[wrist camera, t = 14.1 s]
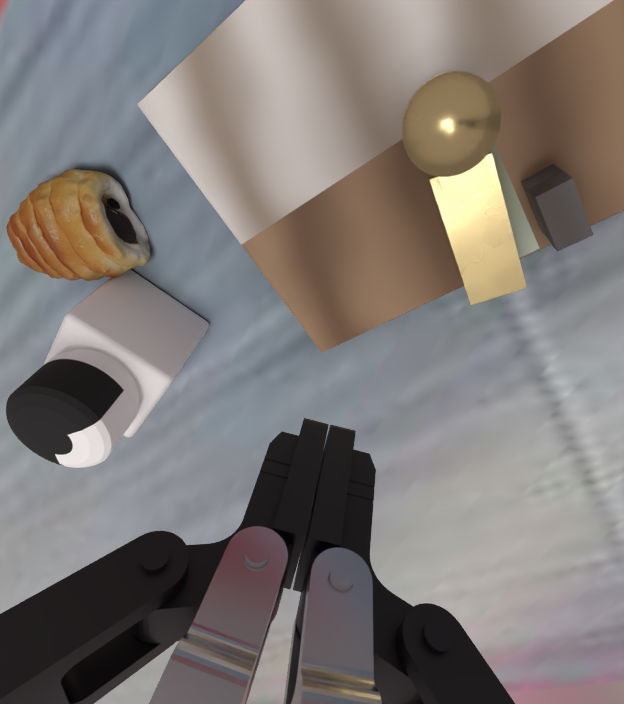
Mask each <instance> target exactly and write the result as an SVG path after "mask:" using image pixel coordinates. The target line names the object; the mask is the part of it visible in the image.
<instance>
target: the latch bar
mask: <svg viewBox="0 0 624 704" xmlns="http://www.w3.org/2000/svg"><path fill="white" fill-rule="evenodd" d="M500 123H501V110H500V104H499V101H498V98H497V96H496V94H495V92H494V90H493V89H492V87H491V86H490V85H489V84H488V83H487V82H486V81H485V80H483V79H482V78H481V77H479V76H477V75H475V74H472V73H469V72H465V71H447V72H443V73H440V74H438V75H435V76H433V77H432V78H430V79H428V80H427V81H426V82H424V83H423V84H422V85H421V86H420V87H419V88H418V89H417V90H416V92H415V93H414V94H413V96H412V97H411V99H410V100H409V102H408V104H407V107H406V109H405V112H404V116H403V122H402V137H403V144H404V147H405V150H406V152H407V155H408V156H409V158H410V160H411V161H412V162H413V163H414V164H415V165H416V166H417V167H418V168H419V169H420V170H422V171H423V172H425V173H427V174H428V176H429V180H430V183H431V186H432V189H433V192H434V195H435V198H436V201H437V204H438V207H439V210H440V213H441V216H442V219H443V222H444V225H445V228H446V231H447V234H448V237H449V240H450V243H451V246H452V249H453V252H454V255H455V258H456V261H457V264H458V267H459V271H460V274H461V277H462V280H463V283H464V286H465V289H466V292H467V295H468V298H469V301H470V304H471V305H474V304H477V303H480V302H483V301H486V300H489V299H493V298H496V297H499V296H502V295H505V294H508V293H512V292H515V291H518V290H521V289H524V288H527V286H526V283H525V279H524V275H523V271H522V267H521V263H520V259H519V255H518V251H517V248H516V244H515V240H514V236H513V232H512V228H511V224H510V220H509V217H508V213H507V209H506V205H505V201H504V197H503V193H502V189H501V185H500V182H499V178H498V174H497V170H496V166H495V162H494V158H493V154H492V152H491V151H490V150H491V148H492V147H493V145H494V143H495V141H496V139H497V136H498V133H499V129H500Z"/></svg>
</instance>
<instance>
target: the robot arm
mask: <svg viewBox="0 0 624 704" xmlns="http://www.w3.org/2000/svg"><path fill="white" fill-rule="evenodd" d="M327 430H328V424H325V423H321V422H318V421H314V420H310V419H306V418H304V421H303V424H302V428H301V431H300V435H299V436H297V435H293V434H289V433H285V432H281V433H280V434H279V435H278V436H277V437H276V438H275V439H274V440H273V441H272V442H271V443H270V444H269V447H268V450H267V453H266V456H265V459H264V462H263V464H262V467H261V470H260V474H259V476H258V479H257V482H256V484H255V487H254V490H253V493H252V496H251V499H250V502H249V504H248V507H247V510H246V513H245V516H244V519H243V521H242V523H241V525H240V526H239V528H238V529H237V530H236V531H235V533H233V534H232V535H231V536H229V537H228V538H226V539H224V540H222V541H220V542H216V543H211V544H200V545H186V544H185V543H184V541H183V540H182V539H181V538H180V537H179V536H177V535H175V534H173V533H171V532H167V531H154V532H150V533H146V534H144V535H142V536H140V537H138V538H136V539H134V540H133V541H131V542H129V543H127V544H125V545H124V546H122V547H120V548H118V549H116V550H115V551H113V552H111V553H109V554H107V555H106V556H104V557H102V558H100V559H98V560H97V561H95V562H93V563H91V564H89V565H88V566H86V567H84V568H82V569H80V570H79V571H77V572H75V573H73V574H71V575H70V576H68V577H66V578H64V579H62V580H61V581H59V582H57V583H55V584H54V585H52V586H50V587H48V588H46V589H45V590H43V591H41V592H39V593H37V594H36V595H34V596H32V597H30V598H28V599H27V600H25V601H23V602H21V603H19V604H18V605H16V606H14V607H12V608H10V609H9V610H7V611H5V612H3V613H1V614H0V704H94V703H95V702H96V701H98V700H99V699H100V698H102V697H103V696H104V695H106V694H107V693H108V692H110V691H111V690H112V689H114V688H115V687H117V686H118V685H119V684H121V683H122V682H123V681H125V680H126V679H127V678H129V677H130V676H131V675H133V674H134V673H135V672H137V671H138V670H139V669H141V668H142V667H143V666H145V665H146V664H147V663H149V662H150V661H151V660H153V659H154V658H155V657H157V656H158V655H159V654H161V653H162V652H164V651H165V650H166V649H168V648H169V647H170V646H172V645H173V644H174V643H175V642H176V641H179V642H178V644H177V646H176V647H175V649H174V651H173V653H172V655H171V657H170V659H169V662H168V664H167V666H166V668H165V670H164V672H163V675H162V677H161V679H160V681H159V683H158V685H157V687H156V690H155V692H154V694H153V696H152V698H151V700H150V703H149V704H246V703H247V700H248V697H249V693H250V690H251V687H252V684H253V681H254V677H255V674H256V671H257V668H258V665H259V661H260V658H261V655H262V652H263V649H264V645H265V642H266V639H267V636H268V633H269V629H270V626H271V623H272V621H273V620H274V618H275V616H276V614H277V611H278V607H279V604H280V600H281V596H282V592H283V589H284V588H287V589H290V588H291V585H292V581H293V578H294V574H295V571H296V567H297V564H298V568H297V573H296V577H295V582H294V587H293V590H296V591H299V592H301V596H300V601H299V606H298V611H297V615H296V618H295V621H294V625H293V632H292V640H291V648H290V656H289V664H288V672H287V680H286V688H285V696H284V704H515V703H514V702H513V700H512V699H511V697H510V696H509V694H508V693H507V691H506V690H505V688H504V687H503V685H502V684H501V683H500V681H499V680H498V678H497V677H496V675H495V674H494V672H493V671H492V670H491V668H490V667H489V665H488V664H487V662H486V661H485V659H484V658H483V657H482V655H481V654H480V652H479V651H478V649H477V648H476V646H475V645H474V644H473V642H472V641H471V639H470V638H469V636H468V635H467V633H466V632H465V631H464V629H463V628H462V626H461V625H460V623H459V622H458V621H457V620H456V618H455V617H454V616H453V615H452V614H450V613H449V612H448V611H447V610H445V609H443V608H442V607H440V606H437V605H434V604H428V603H424V604H419V605H416V606H414V607H413V606H411V605H410V604H408V603H407V602H405V601H404V600H402V599H401V598H399V597H397V596H396V595H394V594H393V593H391V592H390V591H389V590H387V589H386V588H385V587H384V586H383V585H382V584H381V582H380V581H379V580H378V579H377V577H376V575H375V574H374V571H373V569H372V566H371V563H370V541H371V527H372V513H373V500H374V486H375V473H376V469H375V467H374V464H373V462H372V459H371V456H370V454H368V453H364V452H361V451H357V450H353V447H354V439H355V431H354V430H350V429H346V428H342V427H338V426H334V425H330V428H329V432H328V436H327V439H326V435H327ZM325 439H326V443H325ZM324 444H325V447H324ZM323 449H324V450H323ZM300 553H301V554H300ZM299 556H300V558H299ZM298 560H299V563H298Z"/></svg>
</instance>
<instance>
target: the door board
mask: <svg viewBox="0 0 624 704" xmlns="http://www.w3.org/2000/svg"><path fill="white" fill-rule="evenodd" d="M447 71H465V72H469V73H472V74H475V75H477V76H479V77H481V78H482V79H483V80H485V81H486V82H487V83H488V84H489V85H490V86H491V87H492V89H493V90H494V92H495V94H496V96H497V98H498V101H499V104H500V110H501V123H500V129H499V133H498V136H497V139H496V141H495V143H494V145H493V147H492V148H491V150H490V151H491V152H492V154H493V158H494V162H495V166H496V170H497V174H498V178H499V182H500V185H501V189H502V193H503V197H504V201H505V205H506V209H507V213H508V217H509V220H510V224H511V228H512V232H513V236H514V240H515V244H516V248H517V251H518V255H519V259H521V258H523V257H525V256H527V255H530V254H532V253H534V252H536V251H538V250H540V249H542V248H544V247H546V246H549V245H551V244H552V245H553V246H554V248H555V249H556V250H557V251H559V250H561V249H563V248H566V247H568V246H570V245H572V244H574V243H576V242H579V241H581V240H583V239H585V238H587V237H589V236H592V235H593V232H592V230H591V227H590V226H591V225H593V224H595V223H597V222H600V221H602V220H604V219H606V218H608V217H610V216H612V215H614V214H616V213H619V212H621V211H623V210H624V0H246V1H244V2H243V3H242V4H241V5H240V6H239V7H238V8H237V9H236V10H235V11H234V12H233V13H232V14H231V15H230V16H229V17H228V18H227V19H226V20H225V21H224V22H223V23H222V24H221V25H220V26H219V27H217V28H216V29H215V30H214V31H213V32H212V33H211V34H210V35H209V36H208V37H207V38H206V39H205V40H204V41H203V42H202V43H201V44H200V45H199V46H198V47H197V48H196V49H195V50H194V51H193V52H191V53H190V54H189V55H188V56H187V57H186V58H185V59H184V60H183V61H182V62H181V63H180V64H179V65H178V66H177V67H176V68H175V69H174V70H173V71H172V72H171V73H170V74H169V75H168V76H167V77H166V78H164V79H163V80H162V81H161V82H160V83H159V84H158V85H157V86H156V87H155V88H154V89H153V90H152V91H151V92H150V93H149V94H148V95H147V96H146V97H145V98H144V99H143V100H142V101H141V102H140V103H139V104H137V105H138V106H139V108H140V109H141V110H142V112H143V113H144V114H145V116H146V117H147V118H148V120H149V121H150V122H151V124H152V125H153V126H154V128H155V129H156V130H157V132H158V133H159V135H160V136H161V137H162V139H163V140H164V141H165V143H166V144H167V145H168V147H169V148H170V149H171V151H172V152H173V153H174V155H175V156H176V157H177V159H178V160H179V161H180V163H181V164H182V165H183V167H184V168H185V169H186V171H187V172H188V174H189V175H190V176H191V178H192V179H193V180H194V182H195V183H196V184H197V186H198V187H199V188H200V190H201V191H202V192H203V194H204V195H205V196H206V198H207V199H208V200H209V202H210V203H211V204H212V206H213V207H214V208H215V210H216V211H217V212H218V214H219V215H220V217H221V218H222V219H223V221H224V222H225V223H226V225H227V226H228V227H229V229H230V230H231V231H232V233H233V234H234V235H235V237H236V238H237V239H238V241H239V242H240V243H241V245H242V246H243V247H244V249H245V250H246V251H247V253H248V254H249V256H250V257H251V258H252V260H253V261H254V262H255V264H256V265H257V266H258V268H259V269H260V270H261V272H262V273H263V274H264V276H265V277H266V278H267V280H268V281H269V282H270V284H271V285H272V286H273V288H274V289H275V290H276V292H277V293H278V294H279V296H280V297H281V299H282V300H283V301H284V303H285V304H286V305H287V307H288V308H289V309H290V311H291V312H292V313H293V315H294V316H295V317H296V319H297V320H298V321H299V323H300V324H301V325H302V327H303V328H304V329H305V331H306V332H307V333H308V335H309V336H310V337H311V339H312V340H313V342H314V343H315V344H316V346H317V347H318V348H319V350H320V351H321V352H324V351H326V350H328V349H330V348H332V347H334V346H336V345H339V344H341V343H343V342H345V341H347V340H349V339H351V338H353V337H356V336H358V335H360V334H362V333H364V332H366V331H368V330H370V329H373V328H375V327H377V326H379V325H381V324H383V323H385V322H387V321H390V320H392V319H394V318H396V317H398V316H400V315H402V314H404V313H406V312H409V311H411V310H413V309H415V308H417V307H419V306H421V305H423V304H426V303H428V302H430V301H432V300H434V299H436V298H438V297H440V296H443V295H445V294H447V293H449V292H451V291H453V290H455V289H457V288H460V287H462V286H464V283H463V280H462V277H461V274H460V271H459V267H458V264H457V261H456V258H455V255H454V252H453V249H452V246H451V243H450V240H449V237H448V234H447V231H446V228H445V225H444V222H443V219H442V216H441V213H440V210H439V207H438V204H437V201H436V198H435V195H434V192H433V189H432V186H431V183H430V180H429V176H428V174H427V173H425V172H423V171H422V170H420V169H419V168H418V167H417V166H416V165H415V164H414V163H413V162H412V161H411V160H410V158H409V156H408V155H407V152H406V150H405V147H404V144H403V137H402V122H403V116H404V112H405V109H406V107H407V104H408V102H409V100H410V99H411V97H412V96H413V94H414V93H415V92H416V90H417V89H418V88H419V87H420V86H421V85H422V84H423V83H424V82H426V81H427V80H428V79H430V78H432V77H433V76H435V75H438V74H440V73H443V72H447Z"/></svg>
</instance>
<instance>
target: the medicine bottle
mask: <svg viewBox="0 0 624 704" xmlns="http://www.w3.org/2000/svg"><path fill="white" fill-rule="evenodd" d="M208 328H209V323H208V322H207V321H206V320H204V319H203V318H201V317H200V316H198V315H197V314H195V313H194V312H192V311H191V310H189V309H188V308H186V307H185V306H183V305H182V304H181V303H179V302H178V301H176V300H175V299H173V298H172V297H170V296H169V295H167V294H166V293H164V292H163V291H161V290H160V289H158V288H157V287H156V286H154V285H153V284H151V283H150V282H148V281H147V280H145V279H144V278H142V277H141V276H139V275H138V274H136V273H135V272H134V271H132V270H131V269H129V270H128V271H126V272H125V273H123V274H121V275H120V276H117V277H112V278H111V279H110V280H108V281H107V282H106V283H105V284H103V285H102V286H101V287H100V288H98V289H97V290H96V291H95V292H93V293H92V294H91V295H90V296H88V297H87V298H86V299H85V300H83V301H82V302H81V303H80V304H78V305H77V306H76V307H74V308H73V309H72V310H71V311H69V312H68V313H67V314H66V315H65V317H64V320H63V322H62V324H61V326H60V329H59V331H58V333H57V335H56V338H55V340H54V342H53V344H52V347H51V349H50V351H49V353H48V356H47V358H46V360H45V362H44V365H43V366H42V367H41V368H40V369H39V370H38V371H37V372H35V373H34V374H33V375H32V376H31V377H30V378H29V379H28V380H26V381H25V382H24V383H23V384H22V385H21V386H20V387H19V388H18V389H16V390H15V391H14V392H13V393H12V394H11V395H10V397H9V398H8V401H7V405H6V414H7V420H8V423H9V425H10V427H11V429H12V431H13V432H14V434H15V435H16V436H17V438H18V439H19V440H20V441H21V442H22V443H23V444H24V445H25V446H27V447H28V448H29V449H30V450H32V451H33V452H34V453H36V454H38V455H39V456H41V457H43V458H45V459H47V460H49V461H51V462H54V463H56V464H59V465H63V466H68V467H75V468H82V467H89V466H93V465H96V464H99V463H101V462H103V461H104V460H105V459H106V458H107V457H108V456H109V454H110V453H111V451H112V450H113V449H114V447H115V446H116V444H117V443H118V442H119V440H120V439H121V437H122V436H123V435H124V436H126V437H131V436H133V435H134V434H135V432H136V431H137V430H138V428H139V427H140V426H141V424H142V423H143V421H144V420H145V419H146V417H147V416H148V414H149V413H150V412H151V410H152V409H153V408H154V406H155V405H156V403H157V402H158V401H159V399H160V398H161V397H162V395H163V394H164V392H165V391H166V390H167V388H168V387H169V386H170V384H171V383H172V381H173V380H174V378H175V377H176V376H177V374H178V373H179V371H180V370H181V368H182V367H183V365H184V364H185V362H186V361H187V359H188V358H189V356H190V355H191V353H192V352H193V350H194V349H195V348H196V346H197V345H198V343H199V342H200V340H201V339H202V337H203V336H204V334H205V333H206V331H207V330H208Z"/></svg>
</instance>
